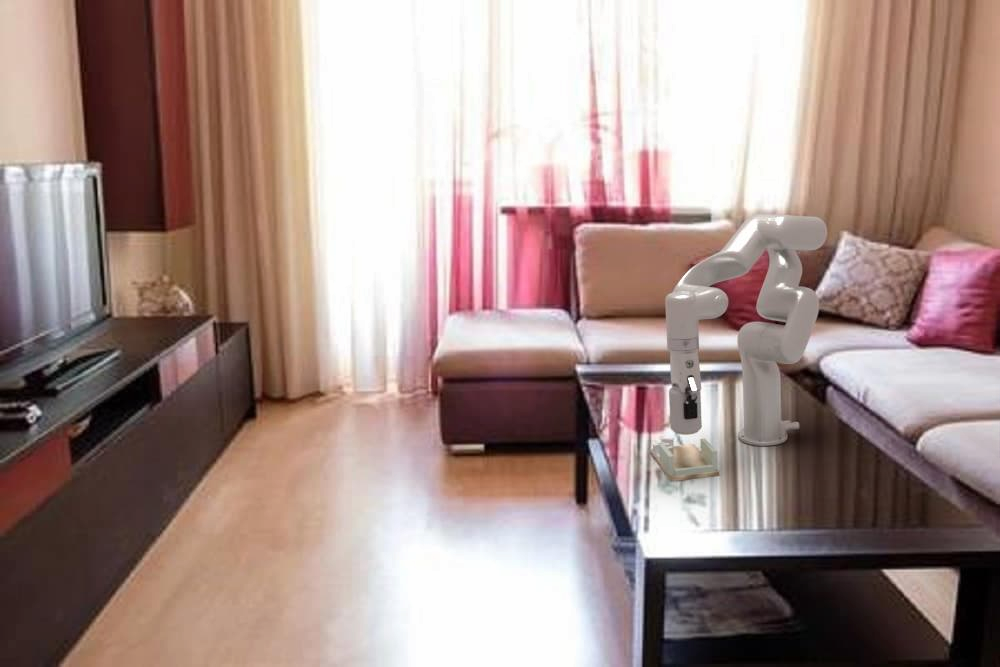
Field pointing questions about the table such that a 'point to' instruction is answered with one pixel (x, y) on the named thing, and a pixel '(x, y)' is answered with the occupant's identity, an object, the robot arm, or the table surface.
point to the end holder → (706, 454)
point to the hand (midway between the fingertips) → (685, 412)
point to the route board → (686, 462)
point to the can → (677, 413)
